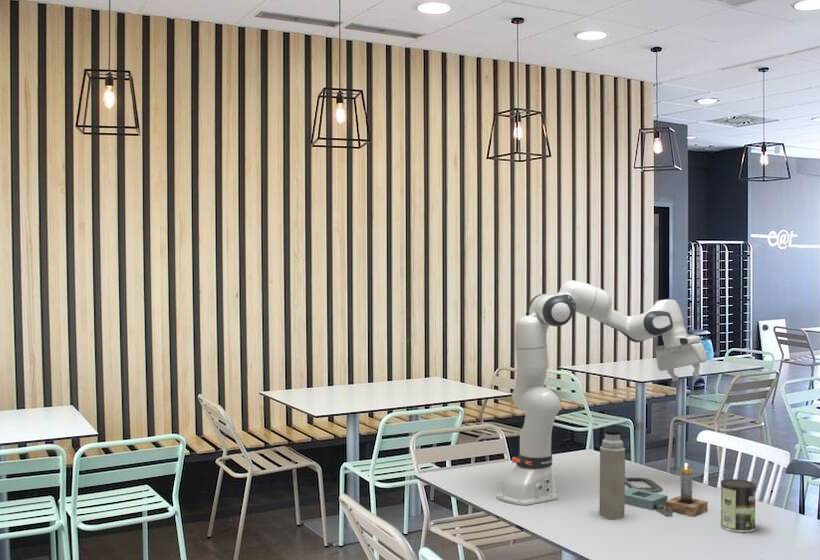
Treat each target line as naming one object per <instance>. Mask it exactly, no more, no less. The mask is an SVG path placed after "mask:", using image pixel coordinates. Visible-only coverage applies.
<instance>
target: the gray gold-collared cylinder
mask: <svg viewBox="0 0 820 560" xmlns="http://www.w3.org/2000/svg"><path fill="white" fill-rule="evenodd" d="M693 471H694V470H693V462H691V461H681V462H680V496H681V503H686V504H691V503H692V498H693Z"/></svg>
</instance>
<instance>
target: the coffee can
mask: <svg viewBox="0 0 820 560" xmlns="http://www.w3.org/2000/svg"><path fill="white" fill-rule="evenodd" d="M756 487H757V485H756V483H755V482H752V481H750V480H744V479H736V478H727V479H723V480H720V528H722V529H723V528H724V529H723V530H726V531H729V530H730V532H733V531H734V533H741V532H747V533H752V532H751V531H753V532H755V531H756ZM754 530H755V531H754Z"/></svg>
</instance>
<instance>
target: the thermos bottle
mask: <svg viewBox="0 0 820 560" xmlns="http://www.w3.org/2000/svg"><path fill="white" fill-rule="evenodd" d="M604 433H605V434H604V438H603V439H602V442H601V446H600V447H599V516H600V517H601V518H603V517H604V518H603V519H607V520H620V519H624V518H625V505H626V504H625V490H626V489H625V487H626V484H625V477H626V475H625V473H626V448H625V447H624V441H623V440H621V430H618V429H605V431H604Z"/></svg>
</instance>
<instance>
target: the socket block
mask: <svg viewBox="0 0 820 560" xmlns="http://www.w3.org/2000/svg"><path fill="white" fill-rule="evenodd" d="M708 503H709V502H708V501H706V500H702V499H697V498H693V497H692V503H691V504H686V503H681V495H678V496H675V497H673V498H671V499H667V501H665V505H664V508H665V509H667V510H669V511H671V512H672V513H674V514H678V515H683V514H684V516H687V515H688V516H687V517H692V518H694V517H696V516H698V515H701V514H702V513H705V512H708Z"/></svg>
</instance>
